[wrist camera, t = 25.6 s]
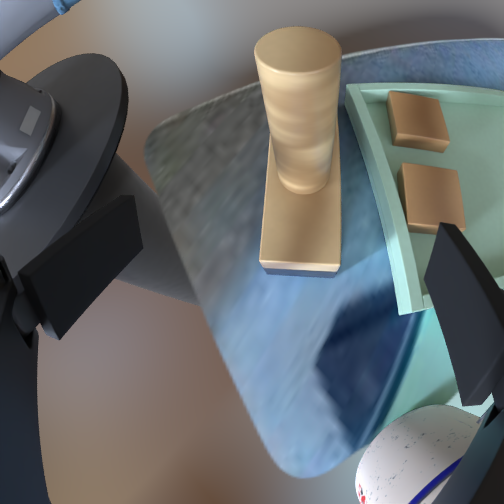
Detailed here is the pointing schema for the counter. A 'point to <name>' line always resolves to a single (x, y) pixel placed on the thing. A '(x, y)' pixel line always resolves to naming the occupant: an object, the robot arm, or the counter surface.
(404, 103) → the cork piece
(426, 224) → the cork piece
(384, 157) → the tray
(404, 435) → the teacup with lid
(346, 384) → the counter surface
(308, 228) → the brush
